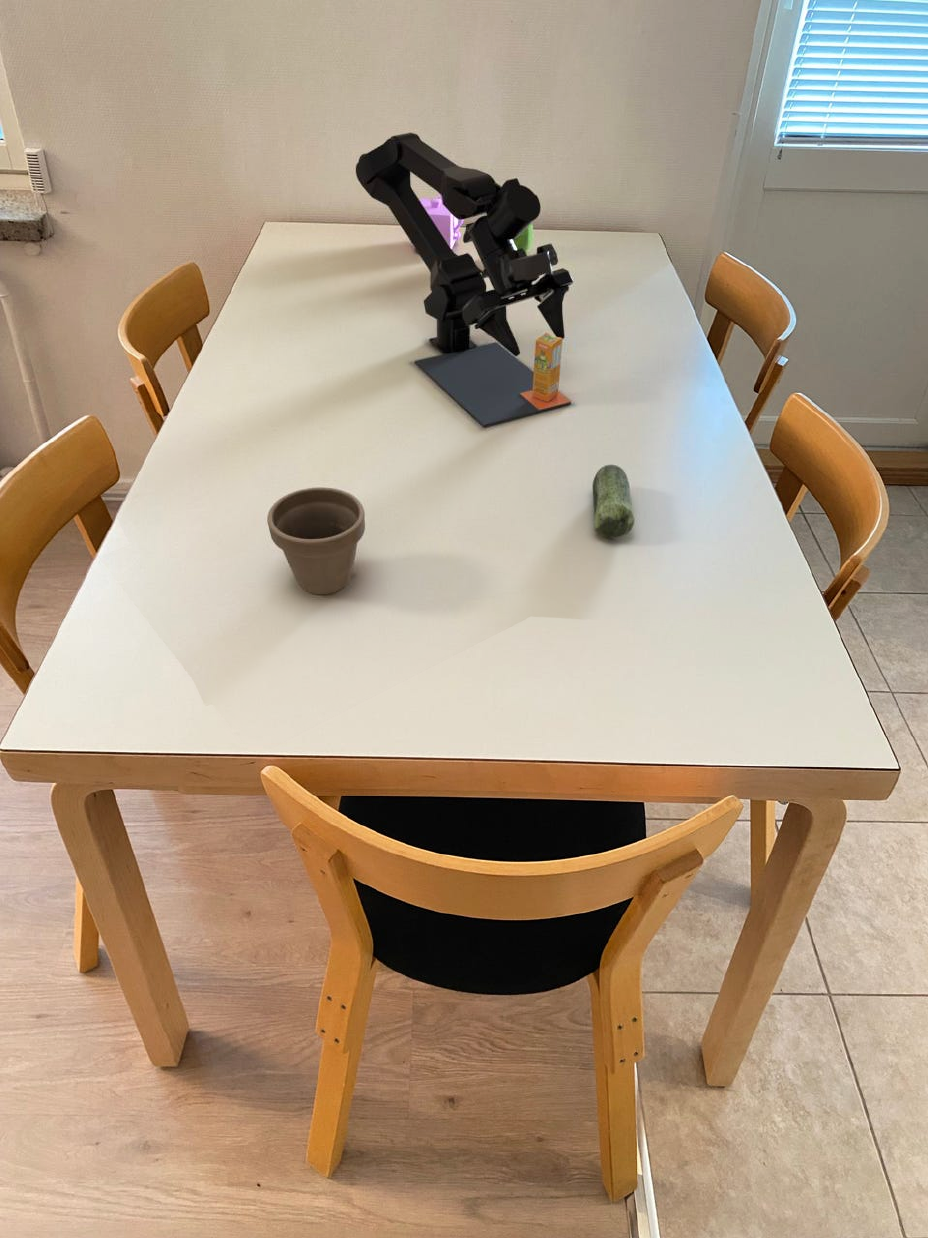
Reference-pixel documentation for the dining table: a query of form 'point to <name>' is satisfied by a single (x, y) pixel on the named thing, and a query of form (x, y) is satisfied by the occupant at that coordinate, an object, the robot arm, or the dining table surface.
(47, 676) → the dining table surface
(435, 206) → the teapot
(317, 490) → the flower pot
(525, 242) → the avocado
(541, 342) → the supplement box
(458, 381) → the mat
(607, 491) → the vegetable
